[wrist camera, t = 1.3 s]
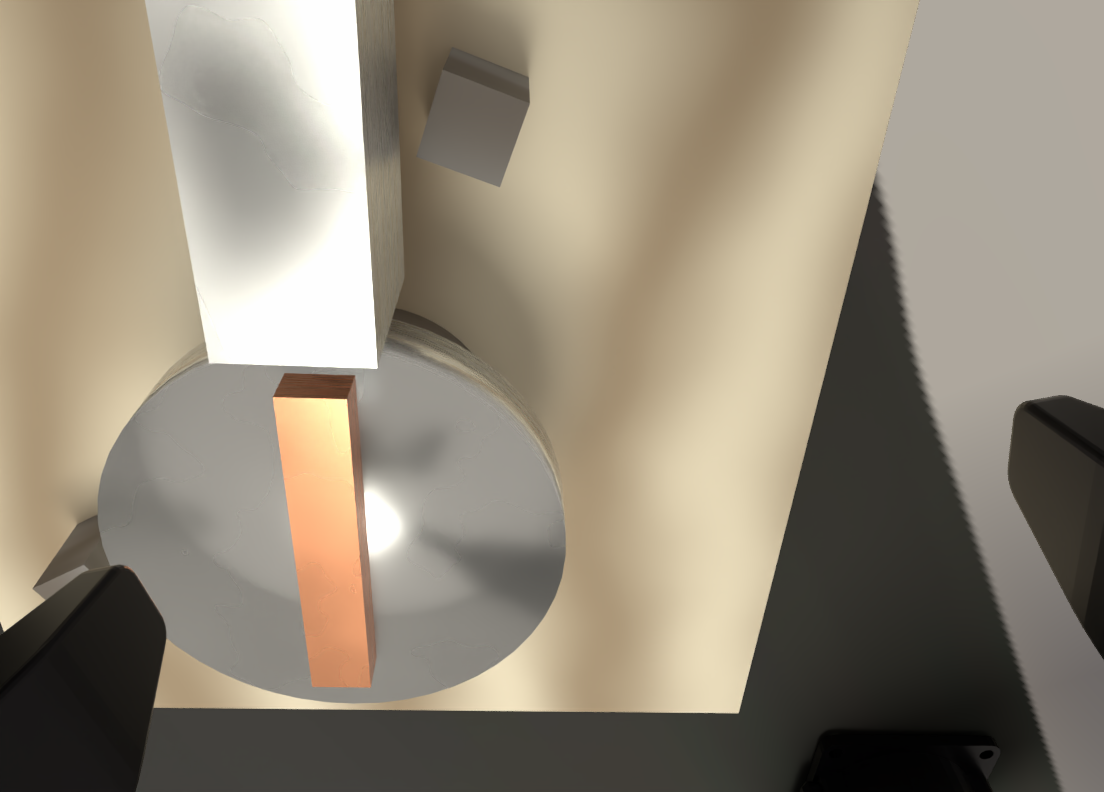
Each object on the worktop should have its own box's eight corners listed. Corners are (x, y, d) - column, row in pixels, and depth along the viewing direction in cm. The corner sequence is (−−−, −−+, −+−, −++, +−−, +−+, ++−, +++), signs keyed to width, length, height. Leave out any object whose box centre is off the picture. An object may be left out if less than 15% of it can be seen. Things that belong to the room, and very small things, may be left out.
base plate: (905, -67, 17) (1026, -53, 13) (728, 675, 28) (764, 809, 24) (-234, -138, 16) (-499, -148, 12) (56, 667, 27) (-27, 806, 23)
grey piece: (550, 638, 21) (555, 764, 18) (179, 633, 20) (120, 761, 17) (605, -80, 13) (630, -70, 10) (-5, -118, 12) (-173, -119, 9)
